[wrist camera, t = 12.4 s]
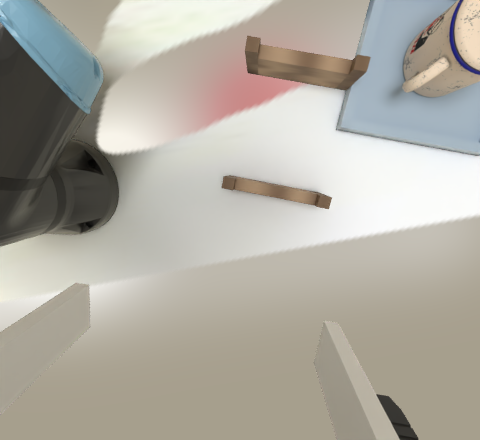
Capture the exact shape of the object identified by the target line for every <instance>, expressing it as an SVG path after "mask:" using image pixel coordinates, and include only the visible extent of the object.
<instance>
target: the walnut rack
mask: <svg viewBox="0 0 480 440" xmlns="http://www.w3.org/2000/svg"><path fill="white" fill-rule="evenodd" d="M245 54H246V63H247V71H248V73H251V74H256V75H262V76H268V77H273V78H279V79H285V80H290V81H296V82H302V83H307V84H313V85H319V86H324V87H330V88H336V89H341V90H347V89H348V88H350V87H351V86H352V85H353V84H354V83H355V82H356V81H357V80H358V79H359V78H360V77H362V76H363V75H364V74H365V73H366V72H367V69H368V66H369V62H370V58H371V57H369V56H363V55H357V56H356V57H355V58H354V59H353V60H348V59H342V58H336V57H330V56H325V55H318V54H312V53H307V52H301V51H295V50H289V49H283V48H278V47H272V46H266V45H260V38H257V37H251V36H247V42H246V48H245ZM222 188H224V189H229V190H234V189H235V190H240V191H245V192H250V193H255V194H260V195H265V196H270V197H275V198H280V199H285V200H291V201H296V202H301V203H306V204H311V205H315V206H317V207H320V208H325V209H329V206H330V203H331V199H332V197H329V196H326V195H324V194H321V193H318V192H313V191H308V190H302V189H297V188H292V187H287V186H282V185H277V184H272V183H266V182H261V181H256V180H251V179H246V178H241V177H236V176H231V175H229V176H224V177H223V183H222Z"/></svg>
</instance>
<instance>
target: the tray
mask: <svg viewBox="0 0 480 440" xmlns="http://www.w3.org/2000/svg"><path fill="white" fill-rule="evenodd" d="M456 1H458V0H370V3H369V7H368V10H367V14H366V18H365V22H364V26H363V29H362V33H361V37H360V41H359V45H358V48H357V52H356V56H357V55H363V56H369V57H371V58H370V62H369V66H368V69H367V72H366V73H365V74H364V75H363V76H362V77H360V78H359V79H358V80H357V81H356V82H355V83H354V84H353V85H352V86H351V87H350V88H348V89H347V90H346V94H345V98H344V101H343V105H342V109H341V113H340V117H339V120H338V124H337V128H336V130H340V131H346V132H351V133H357V134H362V135H368V136H373V137H379V138H384V139H389V140H395V141H400V142H406V143H411V144H417V145H422V146H428V147H433V148H439V149H444V150H449V151H455V152H460V153H466V154H471V155H477V156H480V81H479V82H477V83H474V84H472V85H469V86H467V87H464V88H462V89H459V90H457V91H454V92H452V93H449V94H447V95H444V96H440V97H426V96H422V95H420V94H418V93H416V92H415V91H411V92H408V93H406V92H405V91H404V90H403V88H402V85H403V83H404V82H405V81H406V79H405V76H404V70H403V64H404V58H405V55H406V52H407V50H408V48H409V46H410V44H411V42H412V41H413V40H414V39H415V37H416V36H417V35H418V34H419V33H420V32H421V31H423V30H424V29H425V28H426V27H427V26H428V25H430V24H431V23H432V22H433V21H434V20H435V19H437V18H438V17H439V16H440V15H441V14H442V13H444V12H445V11H446V10H447V9H448V8H449V7H451V6H452V5H453V4H454V3H455V2H456ZM356 56H355V57H356Z"/></svg>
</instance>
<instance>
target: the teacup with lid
mask: <svg viewBox="0 0 480 440" xmlns="http://www.w3.org/2000/svg"><path fill="white" fill-rule="evenodd" d="M403 70H404V76H405V79H406V81H405V82H404V83H403V85H402V88H403V90H404V91H405V92H406V93H408V92H411V91H415V92H416V93H418V94H420V95H422V96H426V97H440V96H444V95H447V94H449V93H452V92H454V91H457V90H459V89H462V88H464V87H467V86H469V85H472V84H474V83H477V82H479V81H480V0H458V1H456V2H455V3H454V4H453V5H452V6H451V7H449V8H448V9H447V10H446V11H445V12H444V13H442V14H441V15H440V16H439V17H438V18H437V19H435V20H434V21H433V22H432V23H431V24H430V25H428V26H427V27H426V28H425V29H424V30H423V31H421V32H420V33H419V34H418V35H417V36H416V37H415V39H414V40H413V41H412V42H411V44H410V46H409V48H408V50H407V52H406V55H405V58H404V64H403Z"/></svg>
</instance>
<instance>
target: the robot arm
mask: <svg viewBox="0 0 480 440" xmlns="http://www.w3.org/2000/svg"><path fill="white" fill-rule="evenodd" d="M103 77H104V76H103V70H102V67H101V64H100V62H99V61H98V59H97V58H96V57H95V56H94V54H93V53H92V52H91V51H90V50H89V49H88V48H87V47H86V46H85V45H84V44H83V43H82V42H81V41H80V40H79V39H78V38H77V37H76V36H75V35H74V34H73V33H72V32H71V31H70V30H69V29H68V28H67V27H65V26H64V25H63V24H62V23H61V22H60V21H59V20H58V19H57V18H56V17H55V16H54V15H53V14H52V13H51V12H50V11H49V10H48V9H47V8H46V7H45V6H43V5H42V4H41V3H40V2H39V1H38V0H0V247H1V246H5V245H8V244H11V243H15V242H18V241H21V240H25V239H28V238H31V237H34V236H38V235H41V234H65V235H76V234H82V233H86V232H89V231H92V230H95V229H97V228H99V227H101V226H102V225H104V224H105V223H106V222H107V221H108V220H109V219H110V218H111V216H112V215H113V213H114V211H115V209H116V206H117V202H118V184H117V179H116V176H115V173H114V171H113V169H112V167H111V165H110V164H109V162H108V161H107V160H106V158H105V157H104V156H103V155H102V154H101V153H100V152H99V151H97V150H96V149H95V148H93V147H92V146H90V145H88V144H86V143H84V142H81V141H77V140H71V139H72V137H73V136H74V134H75V132H76V131H77V129H78V128H79V126H80V124H81V123H82V121H83V120H84V118H85V116H86V115H87V114H89V113H90V112H91V108H90V107H91V105H92V103H93V101H94V99H95V97H96V95H97V93H98V91H99V89H100V87H101V85H102V83H103ZM89 302H90V301H89V285H86V284H79V283H75V284H74V285H72V286H71V287H69V288H68V289H66V290H64V291H63V292H61V293H60V294H58V295H57V296H55V297H54V298H52V299H51V300H49V301H48V302H46V303H45V304H43V305H41V306H40V307H38V308H37V309H35V310H34V311H32V312H31V313H29V314H28V315H26V316H25V317H23V318H22V319H20V320H18V321H17V322H15V323H14V324H12V325H11V326H9V327H8V328H6V329H5V330H3V331H2V332H0V415H1V414H2V413H3V412H4V411H5V410H6V409H7V408H8V407H9V406H10V405H11V404H12V403H13V402H14V401H15V400H16V399H17V398H18V397H19V396H20V395H21V394H22V393H23V392H24V391H25V390H26V389H27V388H29V386H31V385H32V384H33V383H34V382H35V381H36V380H37V379H38V378H39V377H40V376H41V375H42V374H43V373H44V372H45V371H46V370H47V369H48V368H49V367H50V366H51V365H52V364H53V363H54V362H55V361H56V360H57V359H58V358H59V357H60V356H61V355H62V354H63V353H64V352H65V351H66V350H67V349H68V348H69V347H71V346H72V344H74V342H76V341H77V340H78V339H79V338H80V337H81V336H82V335H83V334H84V333H85V332H86V331H87V330H88V329H89V328H90V303H89ZM314 365H315V368H316V372H317V375H318V378H319V382H320V385H321V389H322V392H323V395H324V399H325V402H326V405H327V409H328V412H329V415H330V419H331V422H332V425H333V429H334V432H335V436H336V439H337V440H418V437H417V435H416V434H415V432H414V430H413V429H412V428H411V427H410V424H409V422H408V420H407V419H406V417H405V415H404V414H403V412H402V411H401V409H400V408H399V407H398V406H397V405H396V404H395V403H394V402H393V401H392V399H391V398H390V397H389V396H384V395H377V394H375V392H374V390H373V388H372V386H371V384H370V382H369V380H368V378H367V377H366V375H365V373H364V371H363V369H362V367H361V365H360V363H359V361H358V360H357V358H356V356H355V354H354V352H353V350H352V348H351V346H350V345H349V342H348V341H347V339H346V337H345V335H344V333H343V331H342V329H341V328H340V325H339V323H334V322H329V321H324V323H323V327H322V331H321V335H320V340H319V344H318V348H317V352H316V356H315V360H314Z"/></svg>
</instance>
